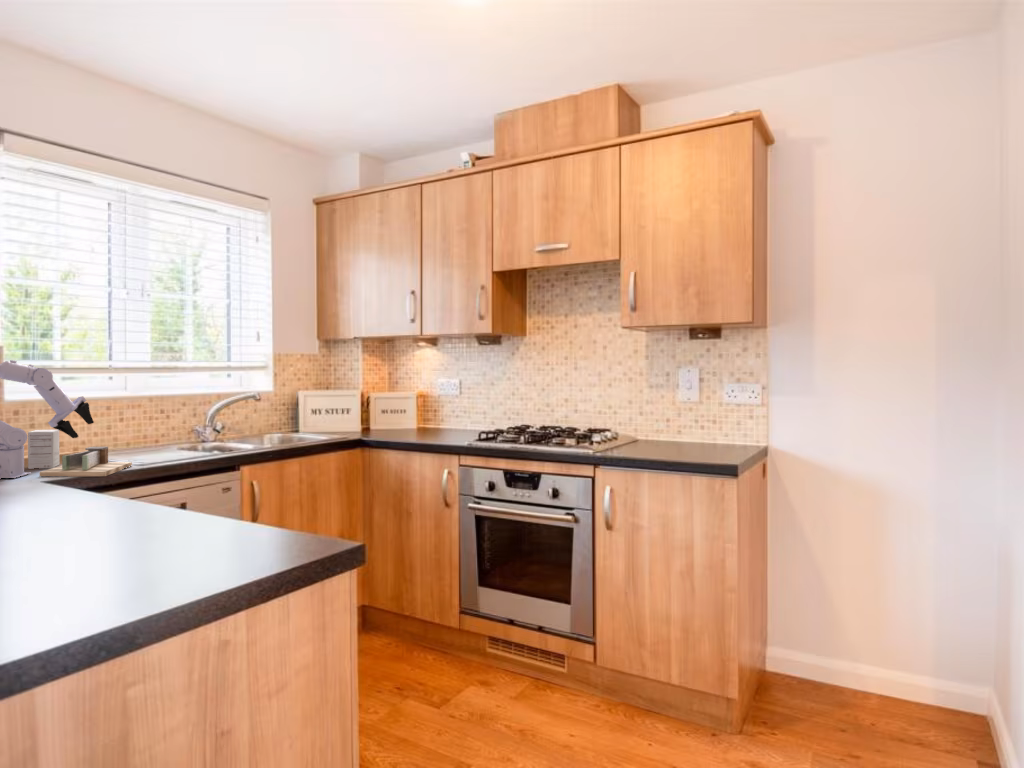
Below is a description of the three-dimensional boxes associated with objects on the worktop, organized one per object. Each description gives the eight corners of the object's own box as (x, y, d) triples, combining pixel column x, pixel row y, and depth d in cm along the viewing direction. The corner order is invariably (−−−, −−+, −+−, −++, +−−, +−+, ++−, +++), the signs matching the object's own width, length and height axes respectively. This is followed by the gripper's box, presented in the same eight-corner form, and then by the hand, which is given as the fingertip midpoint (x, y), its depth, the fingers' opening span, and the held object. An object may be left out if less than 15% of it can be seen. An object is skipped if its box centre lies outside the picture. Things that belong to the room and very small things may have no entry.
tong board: (105, 476, 201) (105, 454, 201) (39, 476, 198) (39, 454, 198) (132, 466, 221) (132, 446, 221) (72, 466, 217) (72, 446, 217)
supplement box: (34, 465, 218) (35, 429, 218) (60, 464, 221) (60, 429, 220) (27, 469, 211) (27, 431, 211) (53, 468, 214) (53, 431, 214)
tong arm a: (87, 469, 202) (87, 455, 202) (82, 469, 202) (82, 455, 202) (100, 463, 215) (100, 449, 215) (95, 463, 215) (95, 450, 215)
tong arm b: (66, 470, 201) (66, 455, 201) (62, 469, 201) (62, 455, 201) (94, 463, 215) (94, 450, 215) (91, 463, 215) (91, 449, 215)
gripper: (49, 410, 200) (77, 442, 207) (81, 384, 212) (106, 415, 219) (33, 413, 202) (61, 445, 209) (65, 387, 214) (91, 418, 221)
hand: (83, 430), depth 214 cm, fingers open, 7 cm apart
